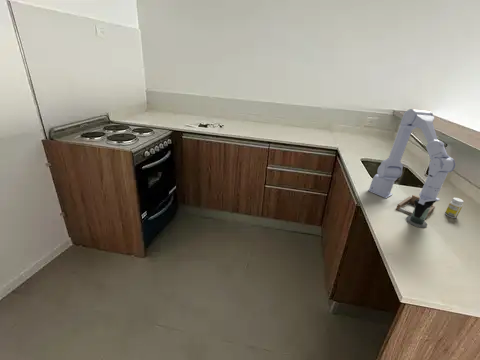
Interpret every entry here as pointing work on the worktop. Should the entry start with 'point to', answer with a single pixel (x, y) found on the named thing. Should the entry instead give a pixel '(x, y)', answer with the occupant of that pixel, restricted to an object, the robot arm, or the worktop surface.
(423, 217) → the tin can
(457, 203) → the supplement bottle
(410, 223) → the coaster
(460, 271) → the worktop surface
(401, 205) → the frame
